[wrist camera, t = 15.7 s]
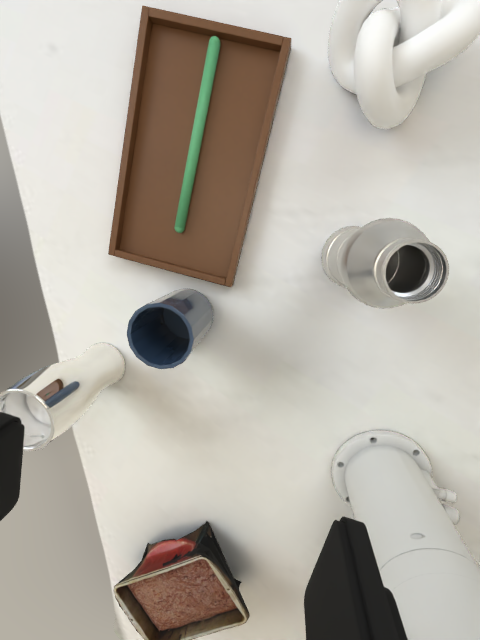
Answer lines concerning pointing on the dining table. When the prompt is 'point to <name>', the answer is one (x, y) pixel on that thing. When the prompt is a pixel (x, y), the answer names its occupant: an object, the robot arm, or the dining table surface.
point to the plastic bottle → (385, 263)
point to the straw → (197, 132)
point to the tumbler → (170, 328)
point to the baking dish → (182, 590)
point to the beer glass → (61, 393)
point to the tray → (175, 135)
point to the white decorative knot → (396, 50)
